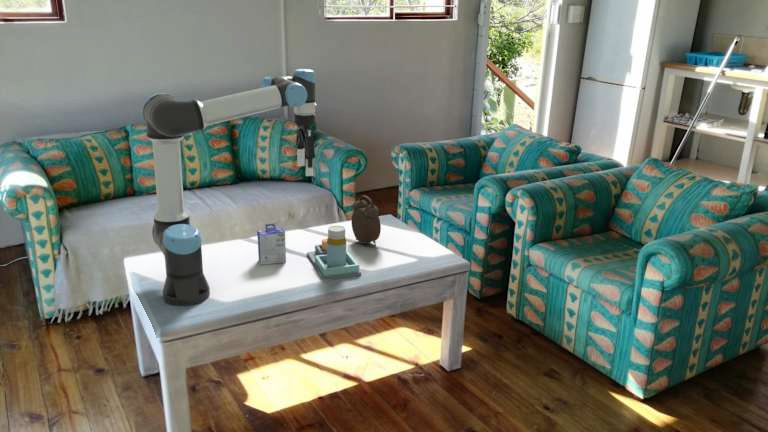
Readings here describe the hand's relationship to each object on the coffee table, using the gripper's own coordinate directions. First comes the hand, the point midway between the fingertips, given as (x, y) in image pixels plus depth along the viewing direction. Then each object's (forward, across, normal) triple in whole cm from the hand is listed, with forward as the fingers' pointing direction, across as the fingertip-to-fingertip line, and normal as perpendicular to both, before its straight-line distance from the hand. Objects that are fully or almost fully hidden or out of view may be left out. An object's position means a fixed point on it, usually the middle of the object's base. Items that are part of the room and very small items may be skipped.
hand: (305, 170), depth 245 cm
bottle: (+33, -15, -8) cm, 37 cm away
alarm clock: (+34, +7, -27) cm, 44 cm away
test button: (+32, -4, -8) cm, 33 cm away
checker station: (+34, -11, -8) cm, 37 cm away
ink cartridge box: (+34, -1, +13) cm, 37 cm away
